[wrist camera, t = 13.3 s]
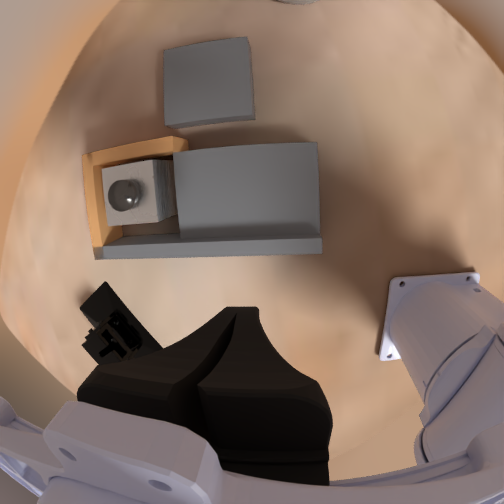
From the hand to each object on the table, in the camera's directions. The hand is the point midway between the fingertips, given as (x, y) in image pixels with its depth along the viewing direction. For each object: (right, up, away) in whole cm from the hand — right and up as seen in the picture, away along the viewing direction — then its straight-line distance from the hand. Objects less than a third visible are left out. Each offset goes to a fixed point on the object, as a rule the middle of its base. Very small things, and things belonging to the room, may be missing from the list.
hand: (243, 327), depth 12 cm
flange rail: (-3, +8, +9) cm, 12 cm away
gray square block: (-3, +15, +7) cm, 17 cm away
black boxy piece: (-12, -4, +14) cm, 19 cm away
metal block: (-7, +8, +9) cm, 14 cm away
